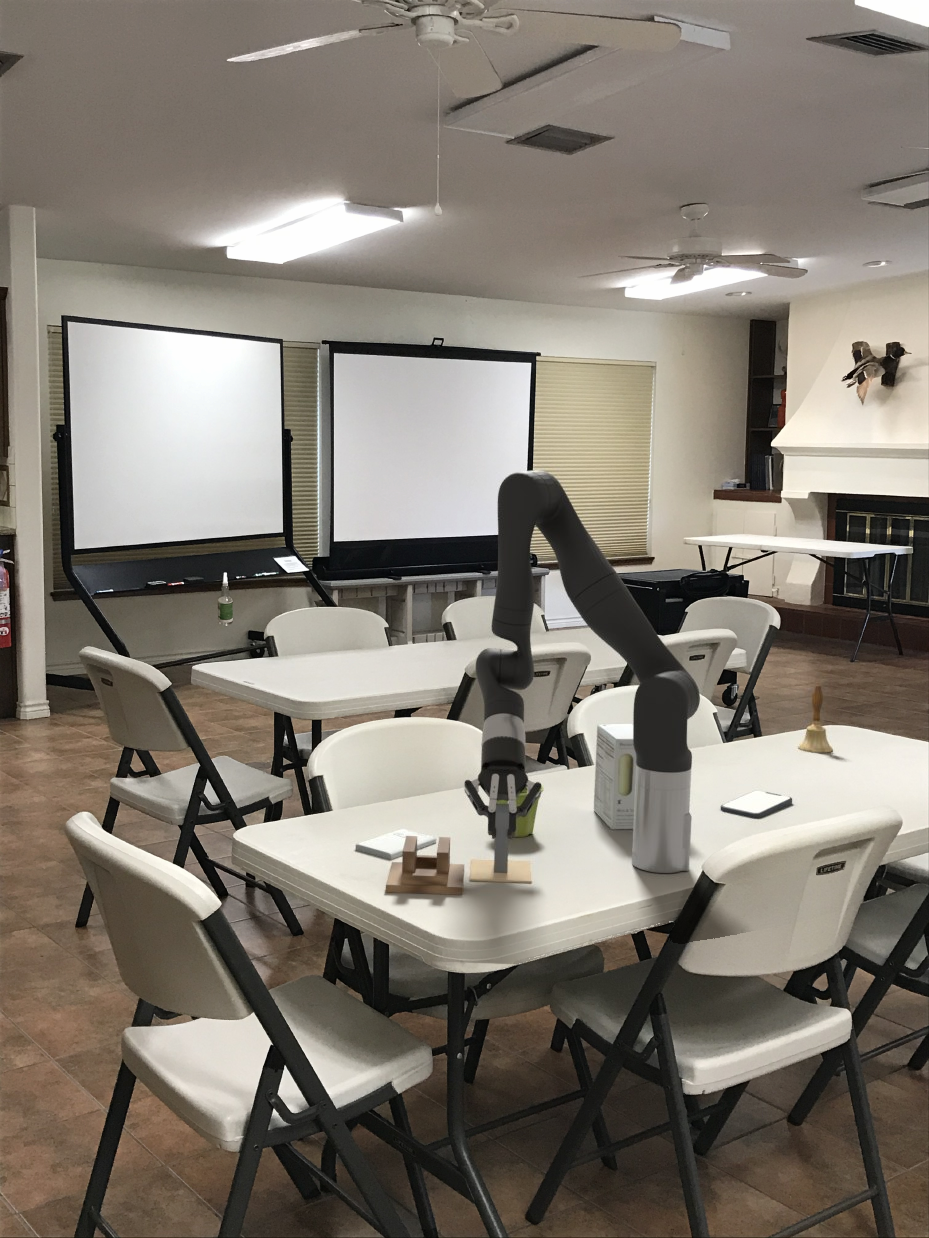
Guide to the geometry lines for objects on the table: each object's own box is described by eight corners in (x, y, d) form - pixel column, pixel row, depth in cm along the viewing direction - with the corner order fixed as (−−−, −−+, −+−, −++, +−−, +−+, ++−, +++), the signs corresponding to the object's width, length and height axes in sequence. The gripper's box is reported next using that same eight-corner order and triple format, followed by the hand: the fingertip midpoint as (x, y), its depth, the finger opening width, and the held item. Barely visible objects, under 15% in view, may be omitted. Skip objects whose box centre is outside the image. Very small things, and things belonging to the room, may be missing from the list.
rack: (464, 871, 197) (465, 834, 196) (462, 894, 186) (463, 856, 185) (391, 868, 197) (392, 832, 196) (385, 892, 186) (386, 853, 185)
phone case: (758, 822, 232) (794, 804, 244) (758, 814, 231) (795, 797, 243) (717, 813, 237) (755, 796, 249) (717, 805, 237) (755, 789, 249)
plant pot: (547, 839, 215) (548, 792, 214) (496, 841, 214) (497, 793, 212) (535, 824, 224) (537, 779, 223) (486, 825, 223) (487, 780, 222)
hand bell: (799, 751, 290) (803, 687, 288) (796, 744, 298) (799, 681, 296) (835, 754, 289) (839, 689, 287) (830, 746, 297) (834, 683, 295)
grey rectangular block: (507, 862, 199) (509, 803, 197) (507, 872, 196) (509, 813, 193) (494, 862, 200) (495, 803, 197) (494, 872, 196) (495, 812, 193)
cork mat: (529, 862, 202) (529, 861, 202) (531, 882, 192) (531, 880, 192) (470, 860, 202) (471, 859, 202) (469, 880, 192) (469, 878, 192)
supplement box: (610, 830, 222) (614, 738, 220) (592, 810, 235) (595, 723, 233) (679, 828, 224) (683, 737, 222) (657, 809, 237) (661, 722, 235)
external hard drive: (355, 852, 207) (401, 836, 217) (391, 862, 202) (436, 845, 212) (355, 843, 207) (401, 827, 217) (391, 853, 202) (436, 836, 212)
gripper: (463, 733, 202) (459, 824, 191) (544, 735, 202) (545, 827, 191) (463, 756, 208) (459, 846, 197) (542, 759, 208) (543, 848, 197)
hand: (501, 836), depth 194 cm, fingers closed on grey rectangular block, 2 cm apart
